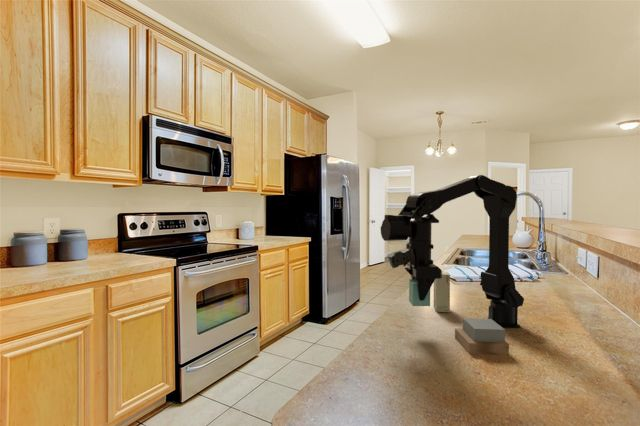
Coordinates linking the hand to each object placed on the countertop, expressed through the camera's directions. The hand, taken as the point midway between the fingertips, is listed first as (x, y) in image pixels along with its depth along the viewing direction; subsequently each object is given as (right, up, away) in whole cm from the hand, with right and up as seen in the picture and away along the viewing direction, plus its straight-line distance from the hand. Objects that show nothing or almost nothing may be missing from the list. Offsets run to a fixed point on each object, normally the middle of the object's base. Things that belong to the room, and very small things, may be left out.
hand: (419, 297), depth 89 cm
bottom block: (+13, -10, -8) cm, 18 cm away
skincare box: (+13, -9, +20) cm, 25 cm away
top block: (+13, -7, -8) cm, 17 cm away
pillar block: (0, -2, 0) cm, 2 cm away
